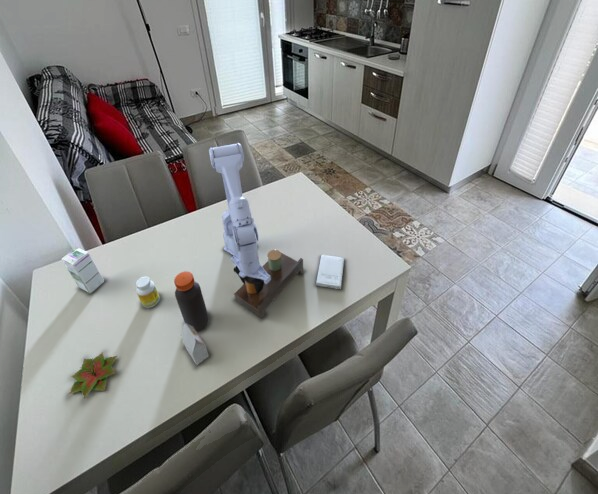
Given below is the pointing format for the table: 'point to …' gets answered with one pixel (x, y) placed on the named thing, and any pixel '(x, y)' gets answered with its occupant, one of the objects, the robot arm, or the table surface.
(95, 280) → the syrup box
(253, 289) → the ochre jar
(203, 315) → the vinegar
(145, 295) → the supplement bottle
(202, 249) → the table surface
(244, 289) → the spice shelf
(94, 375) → the red green leafy plant
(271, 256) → the sage jar
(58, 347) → the table surface
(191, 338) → the white gable top packet
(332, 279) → the hard drive
